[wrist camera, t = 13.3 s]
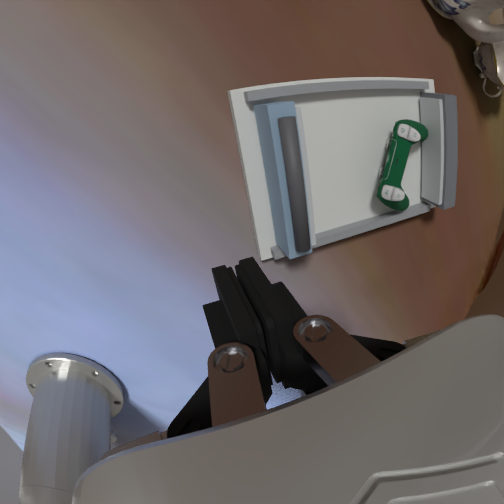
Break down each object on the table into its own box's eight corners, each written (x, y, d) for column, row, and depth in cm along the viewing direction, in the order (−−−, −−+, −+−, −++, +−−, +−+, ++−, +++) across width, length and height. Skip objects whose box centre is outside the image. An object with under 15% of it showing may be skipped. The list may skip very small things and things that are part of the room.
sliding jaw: (301, 235, 28) (324, 257, 24) (275, 243, 28) (295, 266, 24) (283, 100, 22) (308, 100, 18) (253, 105, 22) (273, 105, 18)
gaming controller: (395, 117, 28) (392, 107, 23) (429, 129, 26) (433, 120, 21) (374, 199, 31) (366, 206, 26) (407, 211, 30) (406, 220, 25)
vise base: (429, 204, 33) (455, 217, 29) (258, 255, 29) (274, 280, 25) (427, 79, 26) (457, 81, 22) (227, 91, 22) (241, 87, 18)
